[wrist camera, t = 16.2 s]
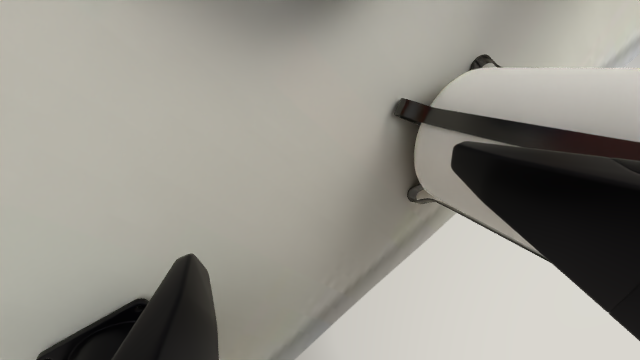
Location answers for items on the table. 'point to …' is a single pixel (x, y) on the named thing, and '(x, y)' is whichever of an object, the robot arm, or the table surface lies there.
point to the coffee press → (521, 125)
